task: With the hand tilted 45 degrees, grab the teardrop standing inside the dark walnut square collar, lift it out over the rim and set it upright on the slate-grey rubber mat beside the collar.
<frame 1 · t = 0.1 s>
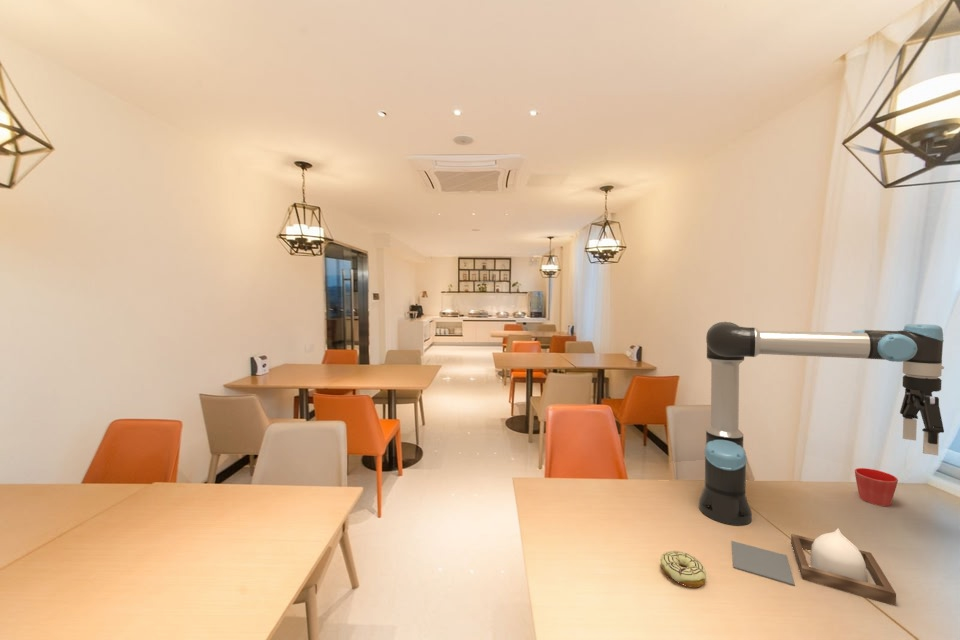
hand: (919, 446, 113), 28 cm above the table, tool pointing down, fingers open, 13 cm apart
teardrop: (837, 572, 101), resting in walnut collar
decorated donut: (682, 575, 101), on the table
grey mat: (760, 562, 105), on the table
flower pot: (875, 501, 135), on the table
walnut collar: (837, 571, 101), on the table
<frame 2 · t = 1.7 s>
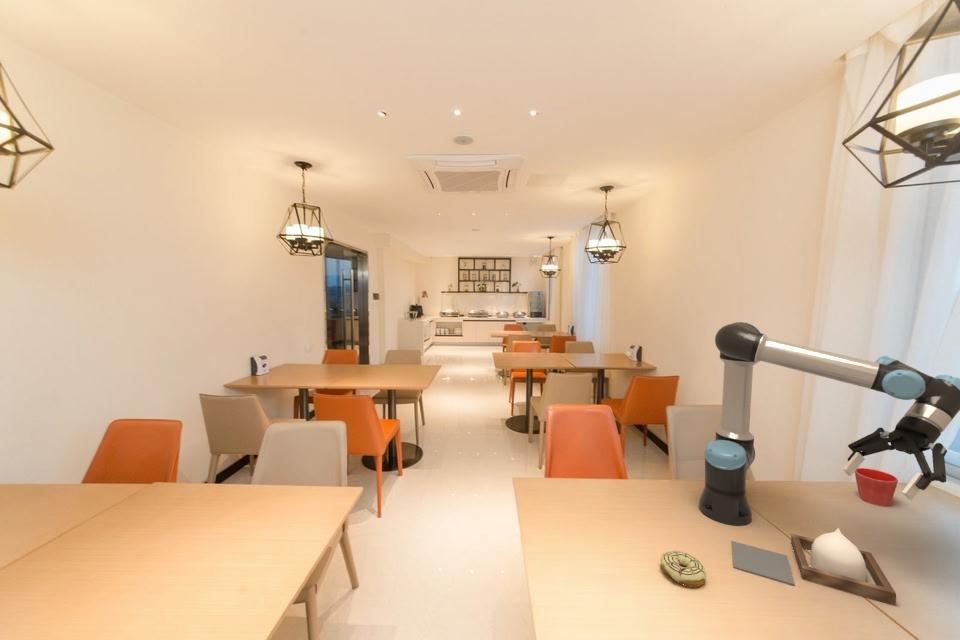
hand: (874, 483, 101), 23 cm above the table, tool tilted 45°, fingers open, 13 cm apart
nothing on the table moved.
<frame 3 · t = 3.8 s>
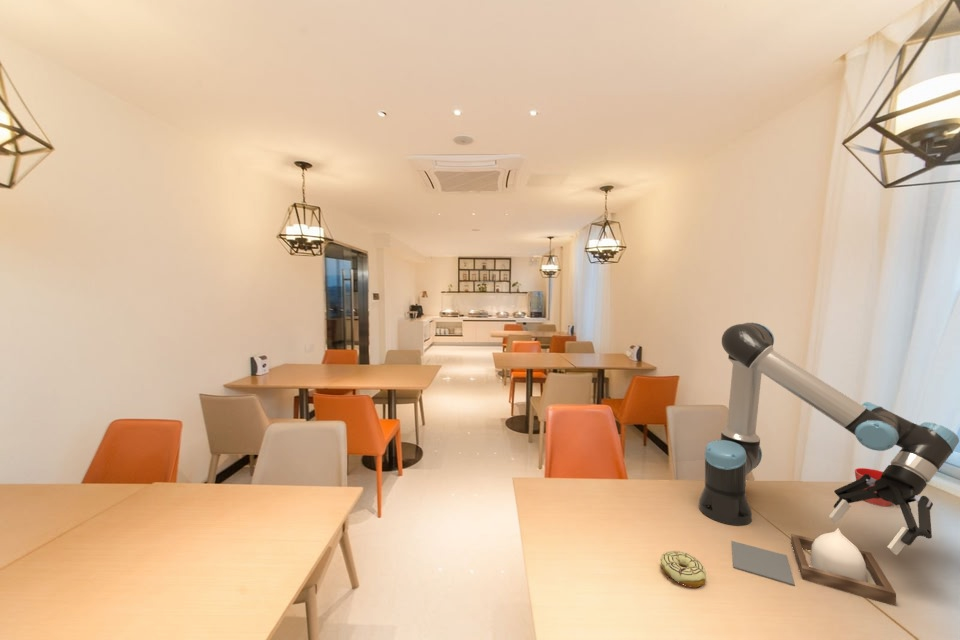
hand: (860, 534, 100), 10 cm above the table, tool tilted 45°, fingers open, 13 cm apart
nothing on the table moved.
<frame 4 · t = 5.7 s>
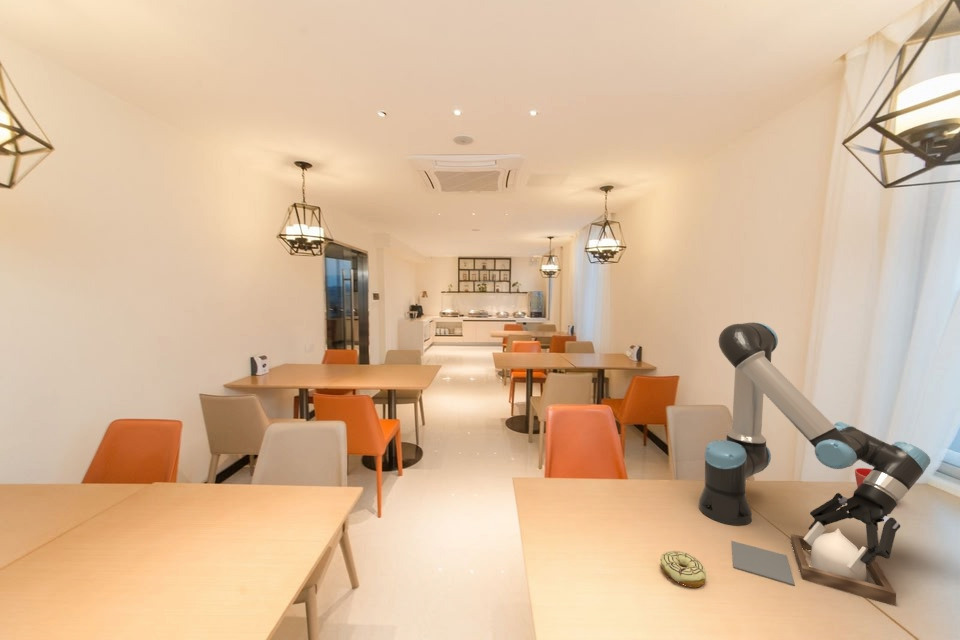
hand: (828, 555, 100), 5 cm above the table, tool tilted 45°, fingers closed on teardrop, 10 cm apart
teardrop: (837, 572, 101), resting in walnut collar, touching gripper
everything else where it was.
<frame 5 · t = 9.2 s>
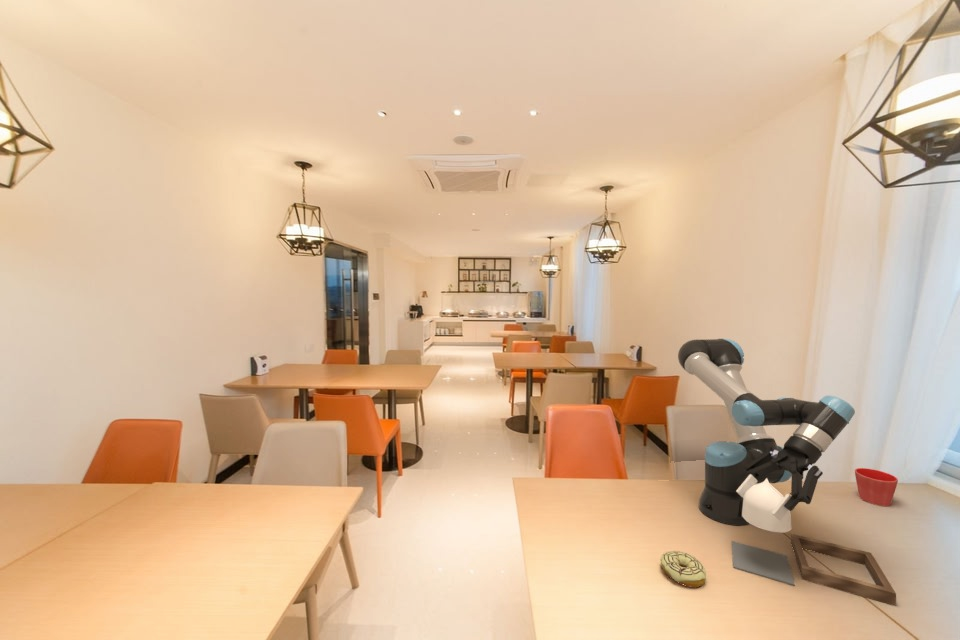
hand: (756, 505, 103), 17 cm above the table, tool tilted 45°, fingers closed on teardrop, 10 cm apart
teardrop: (765, 520, 104), point 12 cm above the table, touching gripper
everything else where it was.
when the fingers open (6 cm above the table, at t = 12.4 s): teardrop drops 1 cm, resting on grey mat.
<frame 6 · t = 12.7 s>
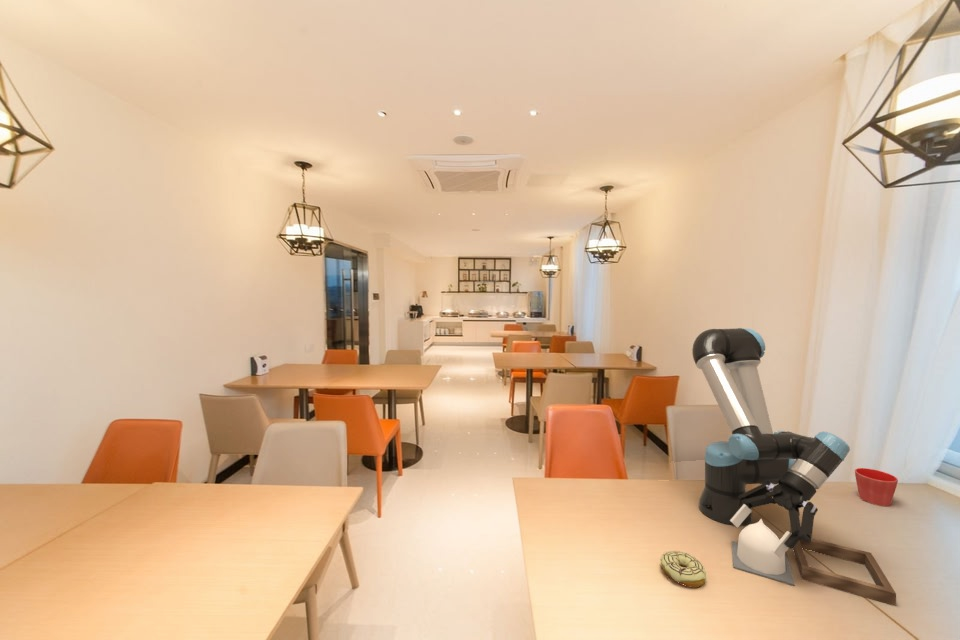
hand: (753, 538, 104), 7 cm above the table, tool tilted 45°, fingers open, 13 cm apart
teardrop: (760, 561, 105), resting on grey mat
everything else where it was.
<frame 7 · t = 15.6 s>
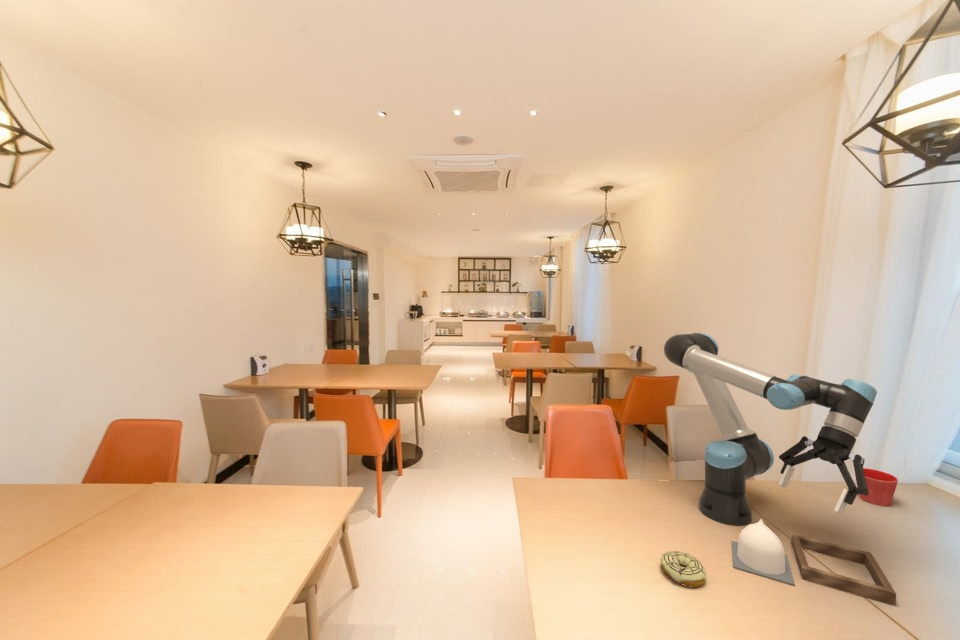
hand: (808, 498, 106), 17 cm above the table, tool tilted 30°, fingers open, 13 cm apart
nothing on the table moved.
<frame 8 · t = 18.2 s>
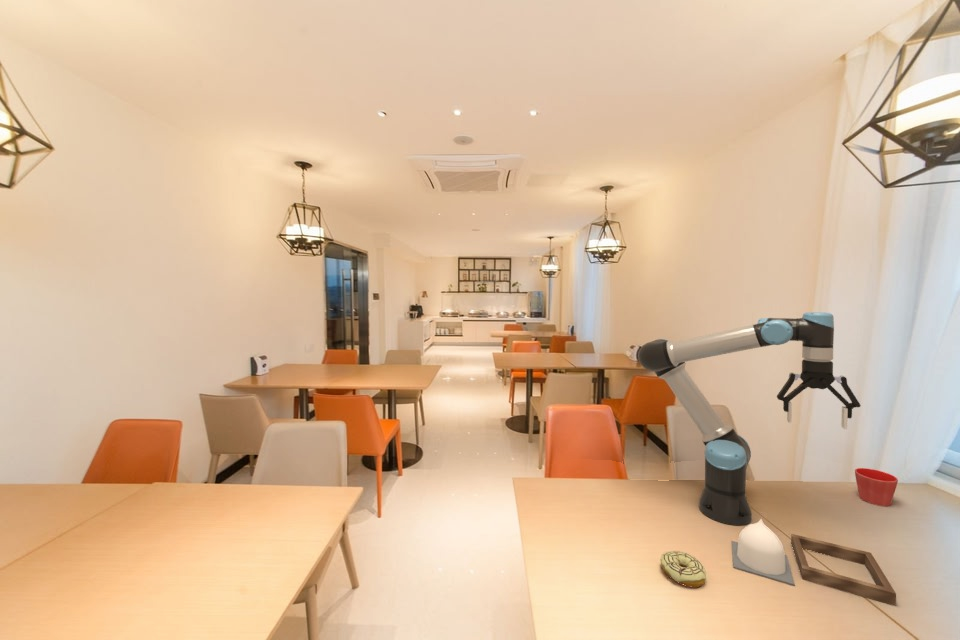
hand: (815, 424, 123), 32 cm above the table, tool pointing down, fingers open, 13 cm apart
nothing on the table moved.
at the end: teardrop inside the target area on the grey mat (0.1 cm from its centre), point 0.2 cm above the grey mat's base; teardrop tilted 0°; the gripper is holding nothing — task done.
